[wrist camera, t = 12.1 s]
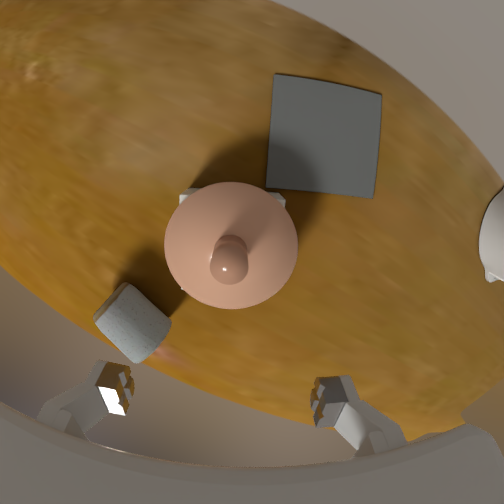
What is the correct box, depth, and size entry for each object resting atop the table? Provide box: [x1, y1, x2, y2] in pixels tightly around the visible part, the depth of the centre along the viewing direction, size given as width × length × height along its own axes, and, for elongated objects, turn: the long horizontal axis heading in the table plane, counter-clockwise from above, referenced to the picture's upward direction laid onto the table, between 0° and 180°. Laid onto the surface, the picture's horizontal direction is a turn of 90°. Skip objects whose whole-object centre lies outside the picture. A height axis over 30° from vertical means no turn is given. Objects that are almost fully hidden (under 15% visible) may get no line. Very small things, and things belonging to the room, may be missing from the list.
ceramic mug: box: [93, 282, 172, 363], centre depth 32 cm, size 11×8×8 cm
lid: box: [164, 182, 298, 309], centre depth 25 cm, size 13×13×5 cm
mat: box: [266, 74, 382, 199], centre depth 29 cm, size 13×13×1 cm
